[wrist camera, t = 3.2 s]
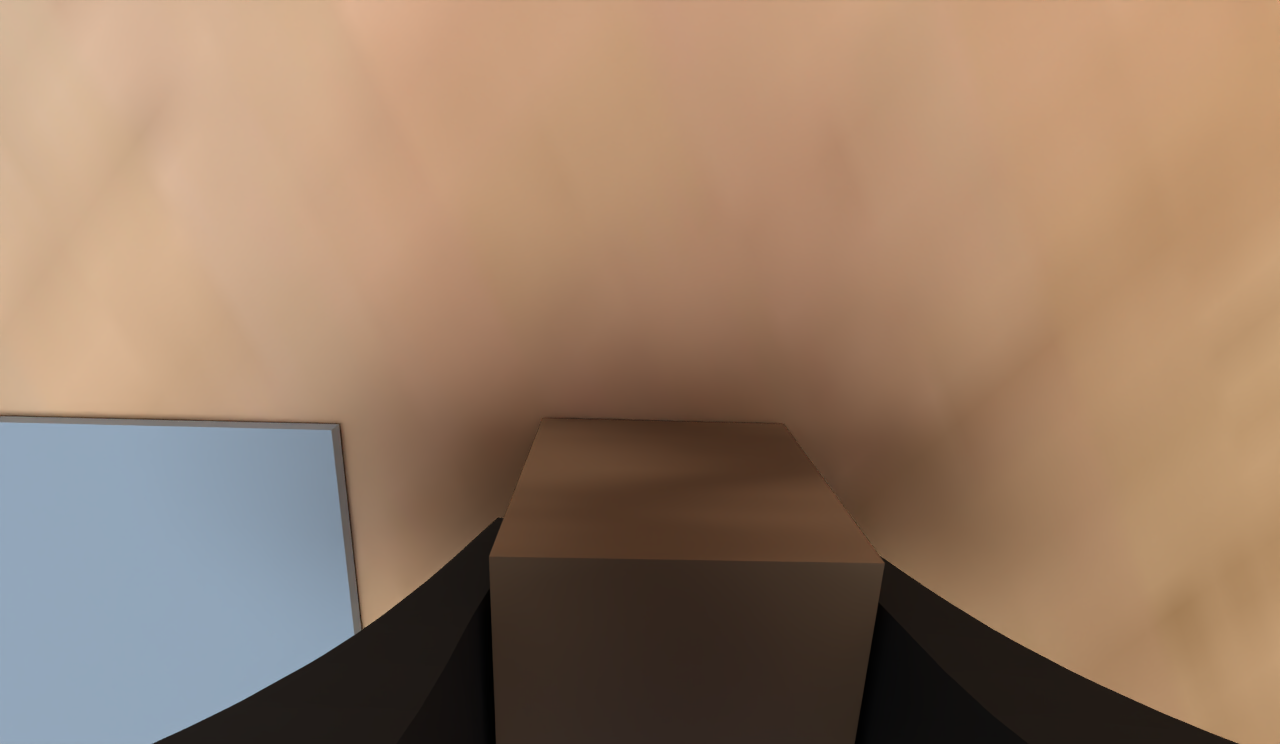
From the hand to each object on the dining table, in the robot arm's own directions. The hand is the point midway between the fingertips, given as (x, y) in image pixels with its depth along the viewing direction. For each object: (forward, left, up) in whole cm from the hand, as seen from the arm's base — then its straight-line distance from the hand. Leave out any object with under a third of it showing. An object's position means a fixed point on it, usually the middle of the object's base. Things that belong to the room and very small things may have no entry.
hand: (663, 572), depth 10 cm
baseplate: (+11, +3, -2) cm, 12 cm away
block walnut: (0, 0, -1) cm, 1 cm away
